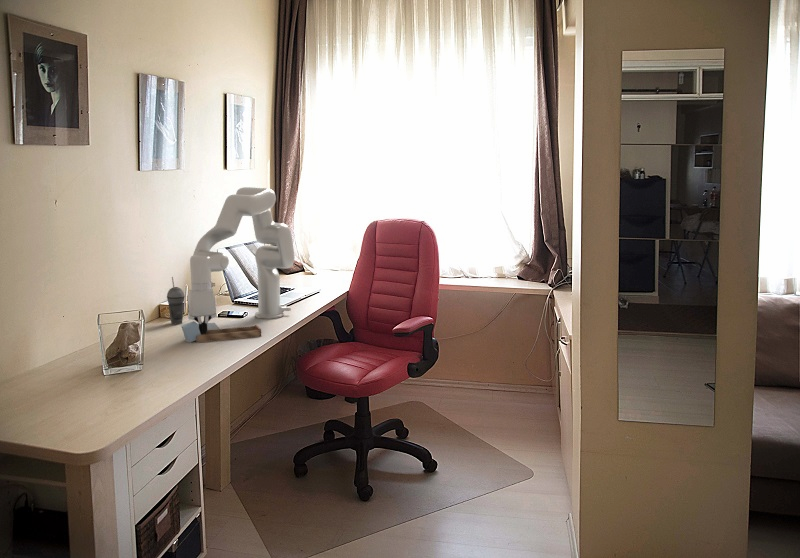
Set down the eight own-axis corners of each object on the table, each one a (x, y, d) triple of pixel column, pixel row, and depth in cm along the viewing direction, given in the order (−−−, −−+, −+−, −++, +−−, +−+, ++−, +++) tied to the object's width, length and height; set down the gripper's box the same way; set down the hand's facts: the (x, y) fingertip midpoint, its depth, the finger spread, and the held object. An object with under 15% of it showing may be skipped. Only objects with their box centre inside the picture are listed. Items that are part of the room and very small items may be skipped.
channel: (256, 331, 293) (256, 324, 293) (261, 336, 286) (261, 329, 286) (193, 337, 283) (193, 329, 282) (197, 342, 276) (196, 334, 275)
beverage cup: (182, 325, 301) (180, 278, 298) (165, 325, 301) (163, 278, 298) (187, 321, 308) (186, 275, 305) (171, 321, 308) (169, 275, 305)
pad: (214, 325, 303) (214, 322, 303) (220, 331, 292) (220, 328, 292) (185, 327, 298) (184, 324, 298) (189, 334, 287) (189, 331, 287)
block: (197, 335, 282) (193, 321, 280) (201, 338, 277) (197, 323, 276) (185, 339, 279) (181, 325, 277) (189, 342, 275) (184, 328, 273)
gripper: (218, 283, 283) (220, 328, 287) (179, 286, 277) (181, 332, 281) (222, 287, 277) (224, 333, 280) (182, 290, 271) (185, 337, 274)
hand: (203, 332), depth 280 cm, fingers closed
